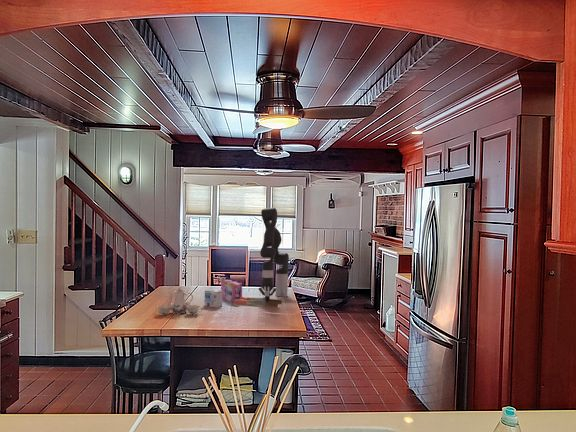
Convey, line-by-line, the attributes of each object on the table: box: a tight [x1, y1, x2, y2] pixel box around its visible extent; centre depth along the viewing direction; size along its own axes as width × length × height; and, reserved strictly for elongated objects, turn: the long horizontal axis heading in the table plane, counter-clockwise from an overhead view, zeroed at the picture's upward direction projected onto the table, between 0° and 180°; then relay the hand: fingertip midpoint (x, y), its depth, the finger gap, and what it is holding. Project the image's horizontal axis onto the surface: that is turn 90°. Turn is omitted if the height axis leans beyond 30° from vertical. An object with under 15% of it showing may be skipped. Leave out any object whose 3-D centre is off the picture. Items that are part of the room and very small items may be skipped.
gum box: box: [220, 278, 243, 303], centre depth 336 cm, size 24×8×14 cm, turn 30°
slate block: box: [254, 295, 265, 302], centre depth 315 cm, size 6×6×5 cm
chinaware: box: [155, 287, 203, 316], centre depth 287 cm, size 28×17×17 cm, turn 105°
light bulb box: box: [204, 288, 223, 308], centre depth 313 cm, size 11×7×11 cm, turn 62°
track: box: [233, 297, 283, 309], centre depth 316 cm, size 14×31×4 cm, turn 75°
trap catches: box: [234, 296, 252, 306], centre depth 319 cm, size 11×8×3 cm
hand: (267, 301), depth 314 cm, fingers closed
